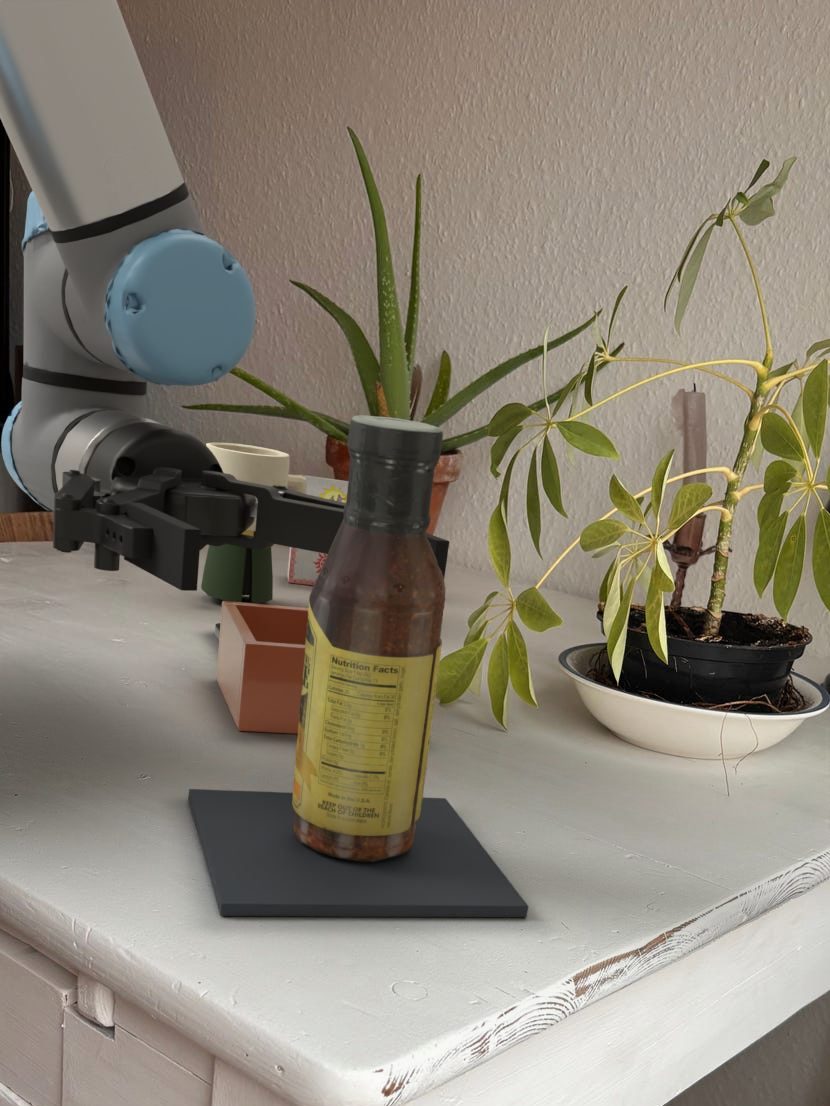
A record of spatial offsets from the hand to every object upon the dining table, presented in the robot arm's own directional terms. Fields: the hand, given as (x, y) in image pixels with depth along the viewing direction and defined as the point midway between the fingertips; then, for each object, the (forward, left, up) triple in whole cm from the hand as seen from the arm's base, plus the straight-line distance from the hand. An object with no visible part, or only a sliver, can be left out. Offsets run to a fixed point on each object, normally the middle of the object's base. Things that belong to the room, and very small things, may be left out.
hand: (324, 564), depth 61 cm
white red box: (+14, +65, -14) cm, 68 cm away
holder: (+5, +21, -13) cm, 25 cm away
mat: (+2, -4, -13) cm, 14 cm away
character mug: (+4, +53, -14) cm, 55 cm away
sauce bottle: (+2, -4, -13) cm, 14 cm away
